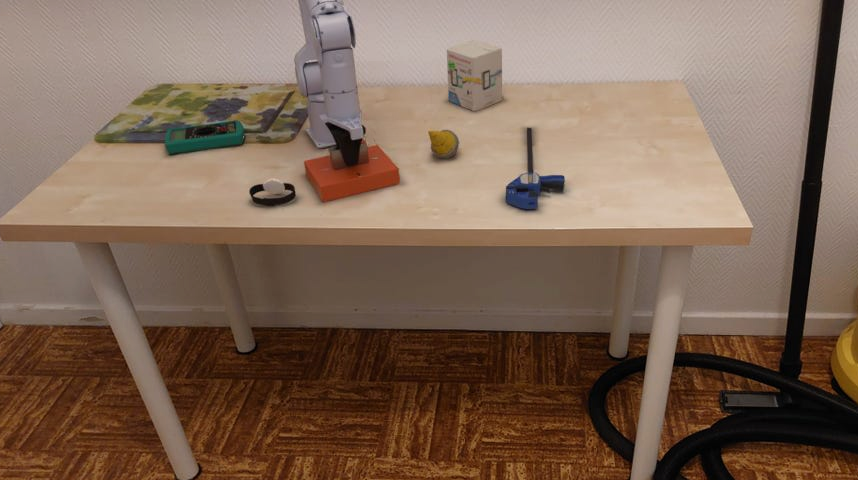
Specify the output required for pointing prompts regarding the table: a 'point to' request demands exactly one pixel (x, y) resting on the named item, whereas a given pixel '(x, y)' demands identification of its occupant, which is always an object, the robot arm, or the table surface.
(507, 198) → the bar clamp
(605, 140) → the table surface
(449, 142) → the yellow pointed rounded piece
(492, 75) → the ink box
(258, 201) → the watch
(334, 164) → the grey block with button
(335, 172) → the orange block
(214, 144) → the digital multimeter
